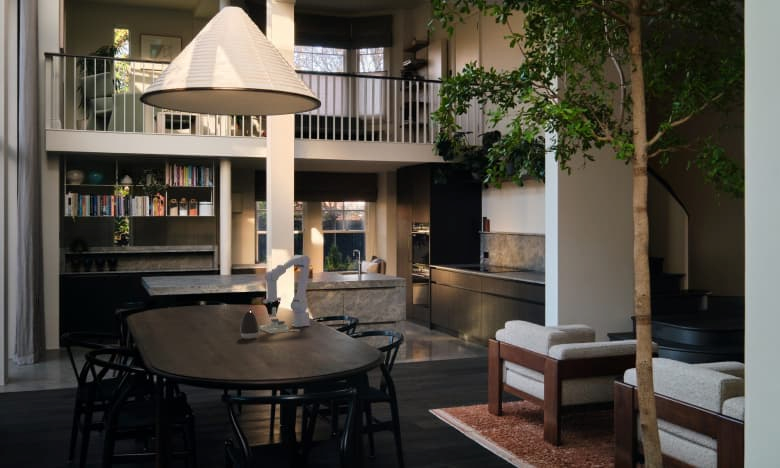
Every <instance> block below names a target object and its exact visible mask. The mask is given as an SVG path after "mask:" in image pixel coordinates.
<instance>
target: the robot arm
mask: <svg viewBox="0 0 780 468" xmlns="http://www.w3.org/2000/svg"><path fill="white" fill-rule="evenodd" d="M310 265H311V259H310V257H309V256H308V255H307V254H303V255H302V254H301V255H300V254H295V255H293V256H291V258H290V259H288V260H287V261H286V262H285V263H284V264H278V265H276V267H275V268H272V269H271V270H269V271H267V272H266V273H265V275H264V278H265V282H266V295H267V296H266V297H267V298H265V299H263V304H264V307H265V308H266V311H267V312H266V313H267V315H268V316H269V315H272V307H276V315H277V313H278V309H279V306H280V305H281V301H282V299H281V297H278V287H277V286H278V280H279V278H280V277H281V276H282V275H284V274H286V272H287V270H288V269H290V268H291V267H293V266H295V267H297V268H298V269H299V270H300V272H299V277H298V283H297V288H296V289H297V290H296V294H295V296H294V297H293V298H292V301H291V303H290V309H291V310H292V312H293V313H292V314H293V324H291V327H294V328H299V327H309V326H311V324H310V312H309V311H308V307H309V305H308V301H309V300H308V299H307V298H306V292H307V287H308V280H309V275H310V270H311V269H310Z"/></svg>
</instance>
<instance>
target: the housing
mask: <svg viewBox="0 0 780 468" xmlns="http://www.w3.org/2000/svg"><path fill="white" fill-rule="evenodd" d="M259 330H261V331H263V332H266V333H267V334H278V333H287V332H290V331H289V330H290V328H289V327H287V324H286V323H284V324H280V325H279V324H278V323H277V322H272V321H271V320H270V321H269V324H265V325H259Z"/></svg>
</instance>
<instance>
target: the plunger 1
mask: <svg viewBox="0 0 780 468" xmlns="http://www.w3.org/2000/svg"><path fill="white" fill-rule="evenodd" d="M271 321H272V322H277V321H280V320H279V318H278V317H277V318H276V317H275V318H271V319H270V322H271Z"/></svg>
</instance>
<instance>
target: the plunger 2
mask: <svg viewBox="0 0 780 468" xmlns="http://www.w3.org/2000/svg"><path fill="white" fill-rule="evenodd" d="M277 323H278V324H279V325H280V324H286V322H285V321H284V320H279V321H277Z"/></svg>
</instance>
